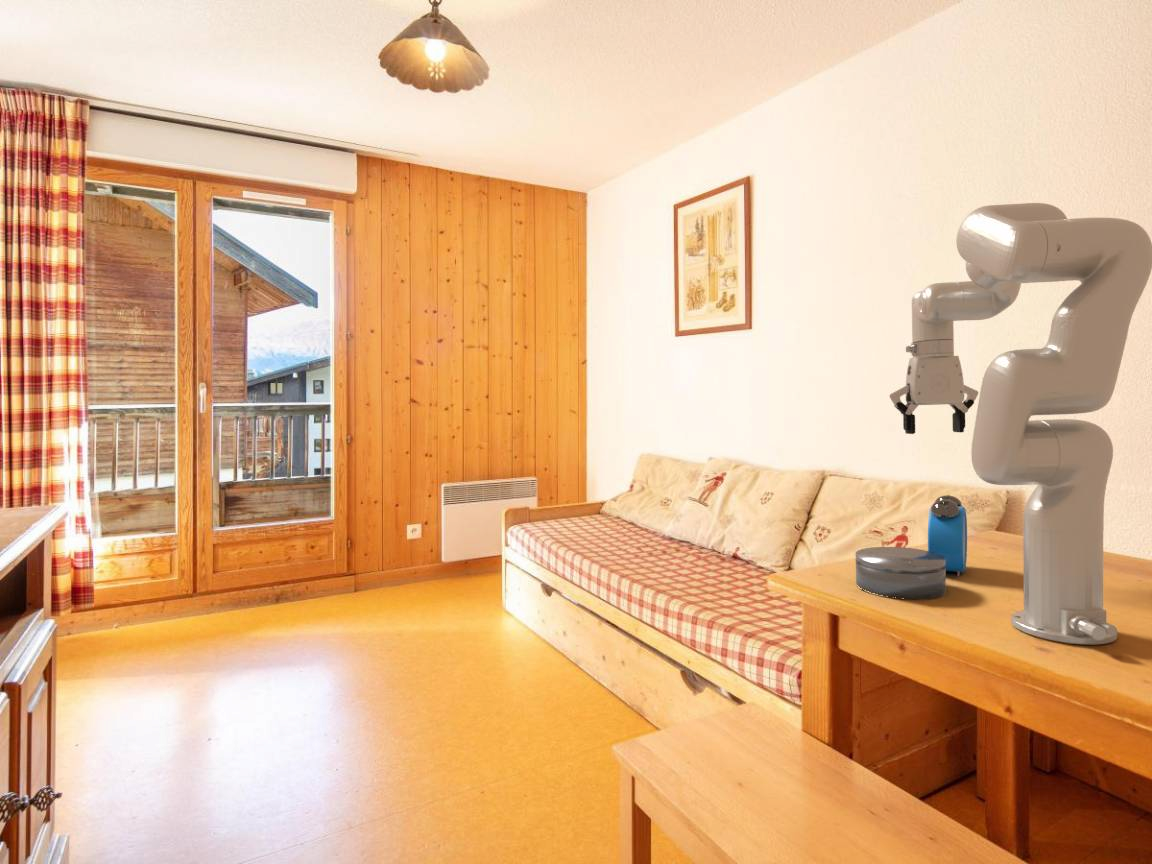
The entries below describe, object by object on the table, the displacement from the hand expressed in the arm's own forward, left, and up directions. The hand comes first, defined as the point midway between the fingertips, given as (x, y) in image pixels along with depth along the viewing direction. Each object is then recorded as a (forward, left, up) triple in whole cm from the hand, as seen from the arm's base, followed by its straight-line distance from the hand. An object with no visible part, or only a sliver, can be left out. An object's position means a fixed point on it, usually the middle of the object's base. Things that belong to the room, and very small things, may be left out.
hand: (934, 432), depth 134 cm
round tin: (-16, +14, -28) cm, 35 cm away
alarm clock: (-5, 0, -28) cm, 28 cm away
